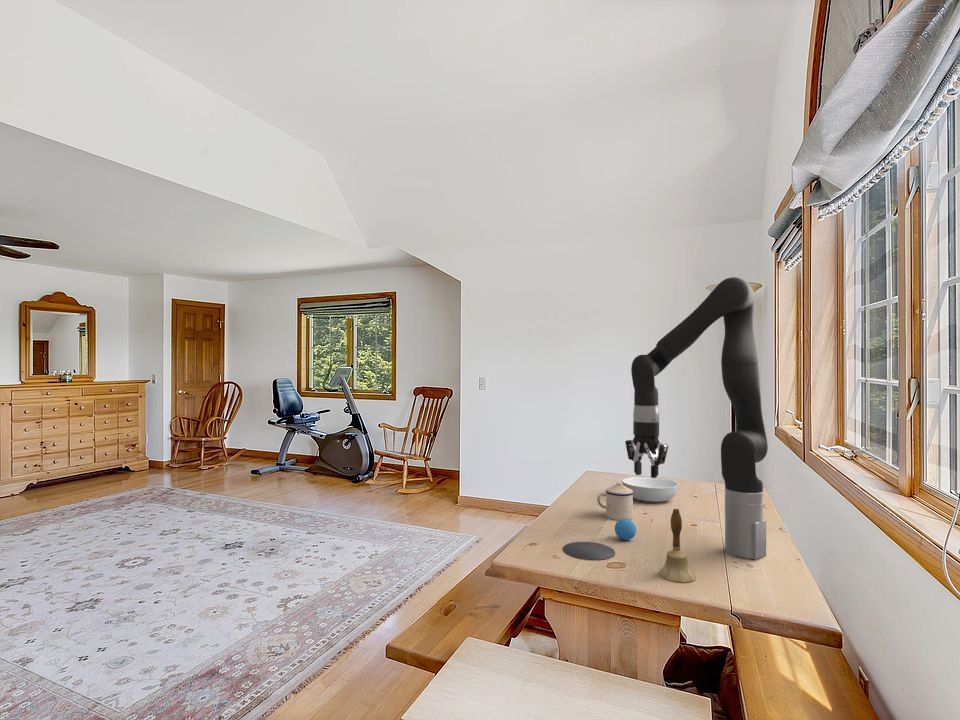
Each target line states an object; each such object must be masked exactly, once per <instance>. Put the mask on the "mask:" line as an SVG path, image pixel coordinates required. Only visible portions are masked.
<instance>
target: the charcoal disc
mask: <svg viewBox="0 0 960 720" xmlns="http://www.w3.org/2000/svg"><path fill="white" fill-rule="evenodd" d="M562 551H563V553H564V554H566V555H568V556H570V557H572V558H576V559H579V560H584V559H585V560H586V561H602V560H608V559H612V558H613V557H615V555H616V550H615V549H614V548H612V547H611V546H609V545H607V544H603V543H600V542H593V541H574V542H569V543H566V544H564V546H562ZM585 560H584V561H585Z"/></svg>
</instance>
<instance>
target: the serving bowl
mask: <svg viewBox="0 0 960 720" xmlns="http://www.w3.org/2000/svg"><path fill="white" fill-rule="evenodd" d="M621 482H622V485H623V486H625V487H627V488H629V489H631V490H632V491H633V499H634V500H639V501H640V500H642V501H641V502H644V501H647V502H646V503H653V502H655V503H661V502H665V501H666V502H667V501H669V500H672V499H673V498H674V497H675V496H676V495H677V493H678V491H679V487H680V484H679V483H678V482H677V481H674V480H672V479H671V480H670V479H666V478H660V477H657V478H651V476H650V477H649V476H635V477H632V476H631V477H627V478H623V479H622V480H621Z"/></svg>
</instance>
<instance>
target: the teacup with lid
mask: <svg viewBox="0 0 960 720" xmlns="http://www.w3.org/2000/svg"><path fill="white" fill-rule="evenodd" d="M601 497H606V498H605V502H606V504H605V505H603V504H602V503H601V501H600V499H601ZM596 501H597V504H598V506H599V507H600V508H602V509H604V510H606V511H605V515H606V517H607V518H608V519H611V520H613V519H615V520H614V521H619V520H620V519H629V520H632V519H633V518H634V517H633V516H634V515H633V514H634V512H633V511H634V510H633V509H634V507H633V505H634V503H633V502H634V498H633V491H632V490H631V489H629V488H627V487H625V486H623V485H622V481H617V482H616V484H614V485H612V486H609V487H607V488H606V489H605V493H600V494H598V495H597V498H596Z"/></svg>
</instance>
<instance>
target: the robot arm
mask: <svg viewBox="0 0 960 720" xmlns="http://www.w3.org/2000/svg"><path fill="white" fill-rule="evenodd" d="M754 305H755V293H754V290H753V287H752V286H751V285H750V284H749V283H748V282H747V281H746V280H744V279H742V278H739V277H735V276H733V277H728V278H724V279H723V280H721V281H720V282H719V283H718V284H717V285H716V286H715V288H714V289H713V290H712V291H711V292H710V293H709V294H708V295H707V297H706V298H705V299H704V300H703V301H702V302H701V303H700V304H699V305H698V306H697V307H696V308H695V309H694V310H693V311H692V312H691V313H690V314H688V316H687V317H686V318H684V319H683V320H682V321H681V322H680V323H679V324H677V325H676V326H675V327H674V328H673V329H671V330H670V331H669V332H667V333H666V334H665V335H664V336H663V337H662V338H660V340H658V342H657V343H656V345H655V347H654V348H653V349H652V350H651V351H649V352H648V353H647V354H640V355H637V356H636V357H634V359H633V360H632V363H631V368H630V369H631V379H632V385H633V390H634V393H633V395H634V397H633V398H634V401H633V402H634V403H633V405H634V406H633V411H632V413H633V415H632V419H633V420H632V421H633V422H632V423H633V426H632V428H633V429H632V431H633V432H632V435H634V437H633V439H628V440H625V441H624V444H625V448H626V452H627V458H628V460H631V461H632V462H633V472H634V474H635V475H636V476H641V475H642V470H643V469H642V468H643V467H642V466H643V465H642V463H643V462H642V459H643V456H644V455H647V458H648V459H649V462H650V464H651V465H650V477H651V478H658V476H659V465H663V464H665V462H666V458H667V453H668V449H669V444H663V443H661V442H660V441H659V436H660V410H659V389H658V388H657V387H656V383H655V377H656V376H658V375H659V374H660V373H661V372H663V371H664V370H665V369H666V368H667V366H669V365H670V364H671V363H672V361H673V360H674V359H676V358H677V357H679V356H680V355H681V354H683V353H684V352H685V351H686V350H687V349H689V348H690V347H692V345H693V344H695V342H696V341H697V340H698V339H699V338H700V337H701V336H702V335H703V334H704V333H705V332H706V330H708V328H709V327H710V326H712V325H713V324H714V323H715V322H716V321H718V320H719V319H720V318H722V317H723V324H724V337H723V338H724V339H723V344H722V349H721V358H720V359H721V363H720V364H721V365H720V366H721V378H722V383H723V387H724V390H725V392H726V395H727V396H728V399H729V401H730V403H731V406H732V408H733V410H734V416H735V430H734V431H730V432H729V433H728V432H727V433H726V434H725V435H724V437H723V438H722V441H721V444H720V462H721V464H720V465H721V476H722V479H723V482H724V551H725V553H727V554H729V555H731V556H734V557H738V558H742V559H751V560H753V561H754V560H759V559H762V558H763V557H766V556H767V520H766V519H765V518H763V517H764V511H763V510H764V509H763V508H764V505H763V504H764V503H763V502H764V501H763V499H764V491H763V490H764V484H763V481H762V480H761V479H760V478H759V477H758V476H757V469H756V468H757V467H756V464H758V463H759V462H762V461H763V460H764V459H765V457H766V456H767V454H768V451H769V450H768V447H769V446H768V445H769V443H768V439H767V438H768V437H767V433H766V428H765V423H764V419H763V411H762V395H761V383H760V369H759V368H760V367H759V366H760V365H759V359H758V358H759V357H758V349H757V343H756V342H757V341H756V338H755V333H754V308H755V307H754ZM657 450H658V451H657Z"/></svg>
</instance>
